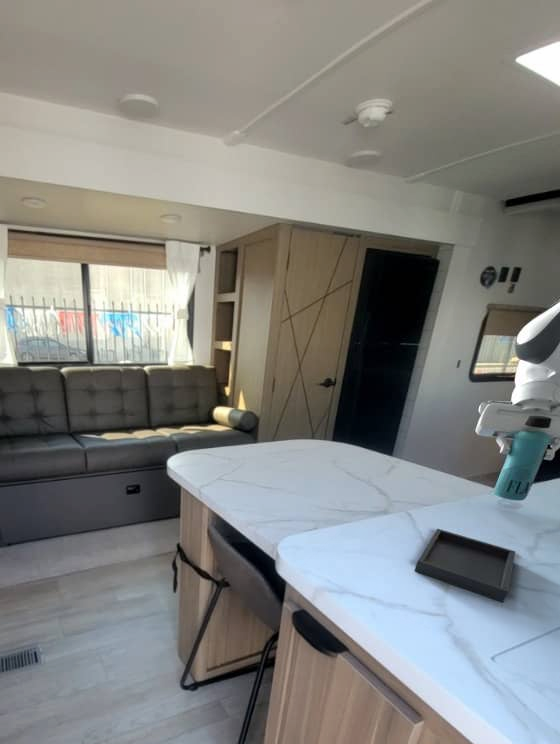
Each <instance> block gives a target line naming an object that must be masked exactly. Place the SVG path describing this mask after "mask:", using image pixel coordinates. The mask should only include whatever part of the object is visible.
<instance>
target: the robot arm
mask: <svg viewBox="0 0 560 744" xmlns="http://www.w3.org/2000/svg"><path fill="white" fill-rule="evenodd" d="M514 350H515V354H516V357H517V359H518V360H519V362H518V364H517V368H516V371H515V375H514V386H515V387H514V388H513V391H512V393H511V398H510V401H508V400H507V401H506V400H496V399H489V400H488V401H483V402H481V403H480V405H479V408H478V414H479V415H480V417H479V418H478V421H477V424H476V427H475V431H474V432H475V433H476V434H477V435H478V436H479V437H487V438H495V441H496V443H497V445H498V446H499V448H500V451H499V454H504V455H508V453H509V452H510V450H511V445H512V443H508V441H507V440H512V441H513V440H514V436H515V434H517V433H519V432H521V431H523V430H532V431H540V432H544V433H546V434H547V435H548V436H549V437H550V439H551V440H550V442H549V444H548V445H550V448H547V449H546V452H545V454H544V456H543V458H544V459H543V460H546V461H552V460H553V459H554V458H555V453H556V451H557V450H559V449H560V298H559V299H558V300H556V301H555V302H554V303H553V304H551V306H549V307H548V308H547V309H545V310H544V311H542V312H540V313H539V314H538V315H536V316H534V317H533V318H532V319H531V320H529V321H528V322H527V323H526V324H525V325H524V326H523V327H521V329H520V330H519V331H518V333H517V335H516V336H515V341H514ZM529 416H544V417H549V418H551V419H552V420H551V423H550V427H549V428H536V427H531V426H527V425H525V423H526V421H527V420H528V418H529Z"/></svg>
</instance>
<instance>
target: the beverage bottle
mask: <svg viewBox="0 0 560 744" xmlns="http://www.w3.org/2000/svg"><path fill="white" fill-rule="evenodd" d="M551 420H552V419H551V418H549V417H544V416H529V418H528V420H527V421H526V423H525V425H527V426H531V427H536V428H549V427H550V423H551ZM550 440H551V439H550V437H549V436H548V435H547V434H546V433H544V432H540V431H532V430H523V431H521V432H519V433H517V434H515V436H514V440H512V443H511V450H510V452H509V453H508V454H506V458H505V461H504V464H503V466H502V467H501V470H500V472H499V475H498V478H497V481H496V482H495V484H494V487H493V494H494V495H495V496H497V497H499V498H502V499H506V500H510V501H517V502H518V501H520V502H521V501H525V499H526V498H527V497H528V496H529V492H531V489H532V487H533V484H534V480H535V479H536V478H537V474H538V471H539V469H540V466H541V465H542V462H543V460H545V459H544V458H543V456H544V454H545V452H546V449H548V446H549V445H550V444H549V442H550Z"/></svg>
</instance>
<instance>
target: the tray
mask: <svg viewBox="0 0 560 744" xmlns="http://www.w3.org/2000/svg"><path fill="white" fill-rule="evenodd" d="M515 557H516V551H515V550H512V549H509V548H505V547H502V546H500V545H499V546H498V545H495V544H491V543H488V542H484V541H481V540H478V539H475V538H471V537H468V536H464V535H461V534H458V533H454V532H452V531H448V530H445V529H440V528H436V530H435V532H434V533H433V535H432V537H431V538H430V540H429V542H428V543H427V545H426V546H425V548H424V550H423V552H422V553H421V555H420V557H419V558H418V560H417V562H416V565H415V567H414V572H416V573H419V574H422V575H425V576H428V577H430V578H433V579H435V580H439V581H441V582H444V583H447V584H450V585H453V586H455V587H458V588H461V589H464V590H467V591H469V592H472V593H475V594H477V595H481V596H484V597H486V598H489V599H491V600H495V601H498V602H500V603H504V601H505V599H506V597H507V595H508V593H509V589H510V584H511V579H512V574H513V573H512V572H513V567H514V562H515Z"/></svg>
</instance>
